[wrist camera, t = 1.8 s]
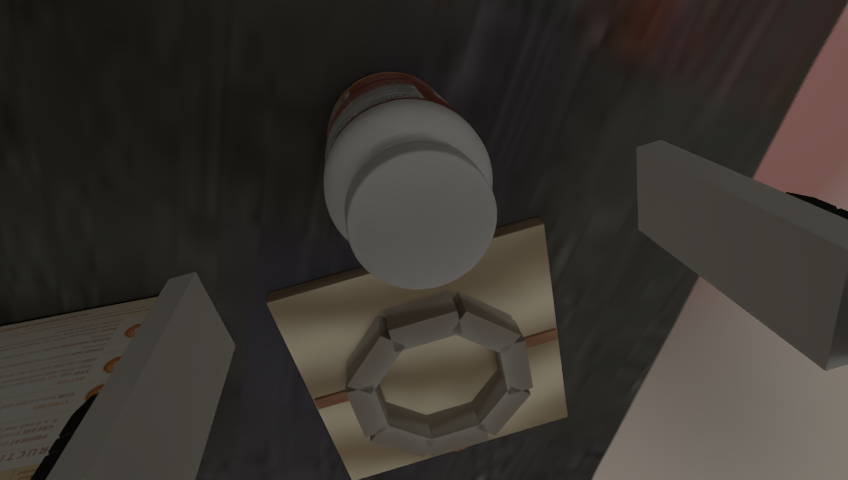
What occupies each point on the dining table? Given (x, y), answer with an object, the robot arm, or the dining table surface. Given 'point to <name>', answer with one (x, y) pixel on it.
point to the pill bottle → (408, 182)
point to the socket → (429, 354)
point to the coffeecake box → (56, 376)
